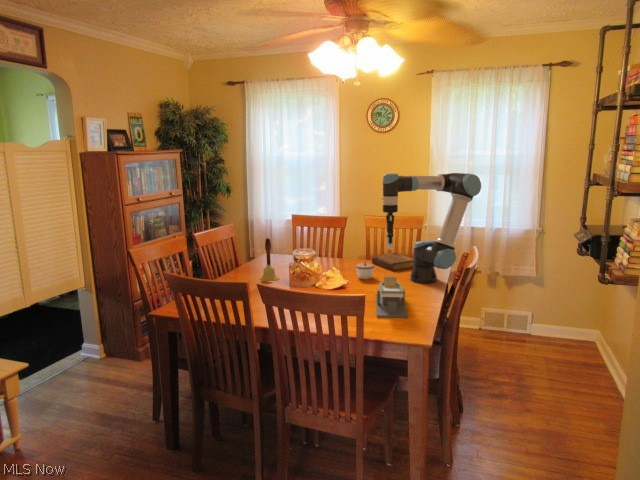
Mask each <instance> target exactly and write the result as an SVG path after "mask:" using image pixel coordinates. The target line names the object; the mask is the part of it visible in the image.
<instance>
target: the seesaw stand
mask: <svg viewBox="0 0 640 480" xmlns="http://www.w3.org/2000/svg"><path fill="white" fill-rule="evenodd" d="M376 291H377V292H376V293H375V302H376V303H375V307H376V318H380V317H384V318H385V319H387V318H388V319H390V318H391V319H401V318H402V319H408V318H409V315H408V310H407V306H406V291H405V289H403V291H404V297H381V291H380V288H378V289H376ZM386 317H387V318H386Z"/></svg>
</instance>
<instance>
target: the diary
mask: <svg viewBox="0 0 640 480" xmlns="http://www.w3.org/2000/svg"><path fill="white" fill-rule="evenodd" d="M371 264H373V265H374V266H378V267H380V268H383V269H385V270H389V271H391V272H396V271H402V270H408V269H413V267H414V257H409V256H406V255H403V254H400V253H398V252H391V253H385V254H377V255H373V256H372V257H371Z"/></svg>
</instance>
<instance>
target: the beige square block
mask: <svg viewBox="0 0 640 480" xmlns="http://www.w3.org/2000/svg"><path fill="white" fill-rule="evenodd" d="M397 278H398V277H397V275H384V276H383V283H384V287H396V286H397V283H398V282H397Z"/></svg>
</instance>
